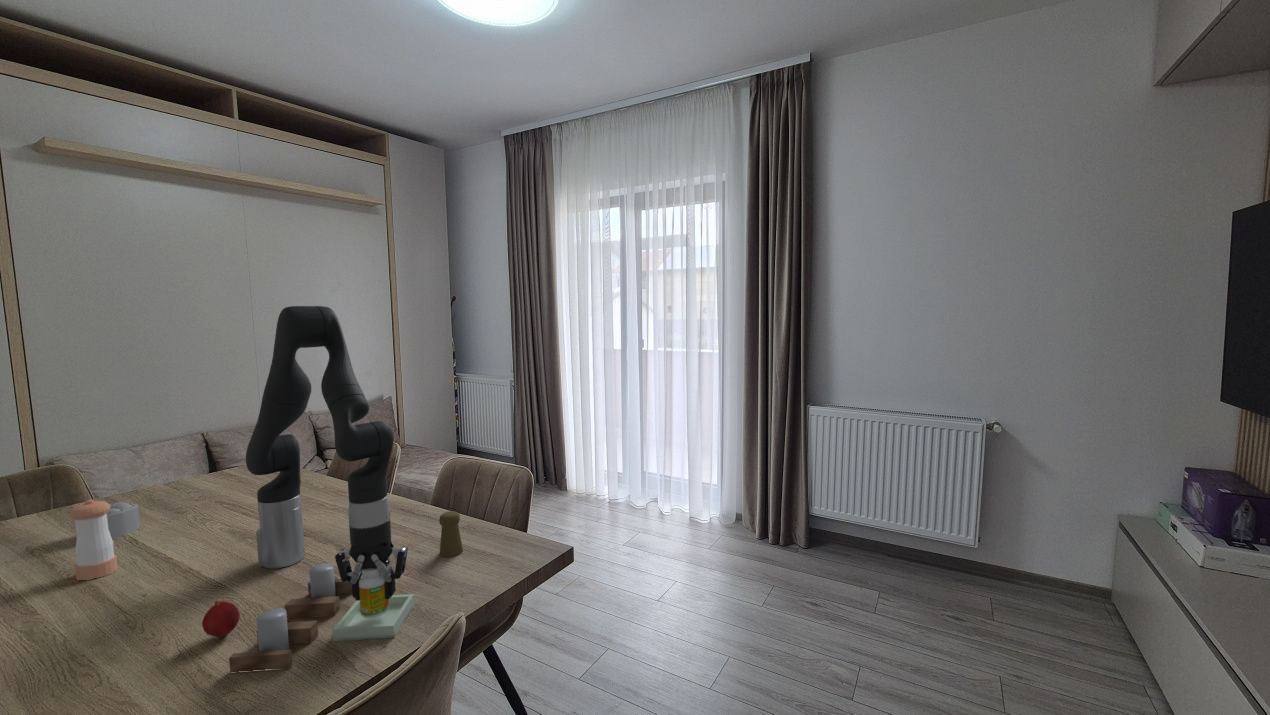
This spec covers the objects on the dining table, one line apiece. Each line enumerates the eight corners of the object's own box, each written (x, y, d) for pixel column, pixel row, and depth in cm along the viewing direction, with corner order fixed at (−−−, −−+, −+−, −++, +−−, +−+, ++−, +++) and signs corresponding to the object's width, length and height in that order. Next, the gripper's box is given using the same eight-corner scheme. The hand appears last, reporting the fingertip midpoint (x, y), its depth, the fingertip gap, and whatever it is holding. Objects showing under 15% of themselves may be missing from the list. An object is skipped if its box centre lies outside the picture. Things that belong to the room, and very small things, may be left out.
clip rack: (230, 673, 93) (229, 657, 93) (311, 593, 120) (310, 580, 120) (288, 669, 94) (287, 653, 94) (356, 590, 121) (355, 578, 120)
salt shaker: (124, 568, 133) (116, 496, 131) (86, 583, 126) (78, 506, 124) (107, 564, 135) (99, 493, 134) (69, 578, 128) (60, 503, 127)
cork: (455, 558, 136) (453, 518, 135) (434, 556, 137) (432, 516, 136) (467, 548, 142) (465, 509, 141) (447, 546, 143) (445, 507, 142)
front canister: (254, 664, 96) (250, 623, 95) (269, 648, 100) (266, 609, 99) (280, 662, 96) (276, 621, 95) (294, 646, 100) (291, 607, 100)
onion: (218, 629, 107) (215, 592, 106) (247, 627, 107) (244, 590, 106) (196, 647, 101) (193, 608, 100) (227, 645, 101) (224, 606, 100)
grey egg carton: (74, 538, 152) (71, 509, 152) (134, 522, 163) (131, 496, 163) (85, 546, 147) (81, 516, 146) (145, 529, 158) (142, 502, 157)
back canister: (307, 609, 113) (305, 574, 112) (317, 597, 118) (315, 563, 117) (330, 607, 114) (328, 573, 113) (339, 595, 118) (337, 562, 118)
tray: (333, 641, 102) (332, 629, 102) (360, 608, 113) (359, 597, 113) (394, 637, 103) (393, 625, 103) (414, 604, 114) (413, 594, 114)
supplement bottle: (370, 621, 104) (367, 575, 103) (355, 614, 107) (352, 569, 106) (394, 608, 109) (392, 564, 108) (380, 601, 112) (377, 558, 111)
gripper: (323, 528, 102) (329, 610, 103) (399, 525, 103) (403, 605, 104) (342, 513, 109) (347, 590, 111) (412, 510, 110) (416, 586, 112)
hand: (374, 597), depth 108 cm, fingers closed on supplement bottle, 5 cm apart
